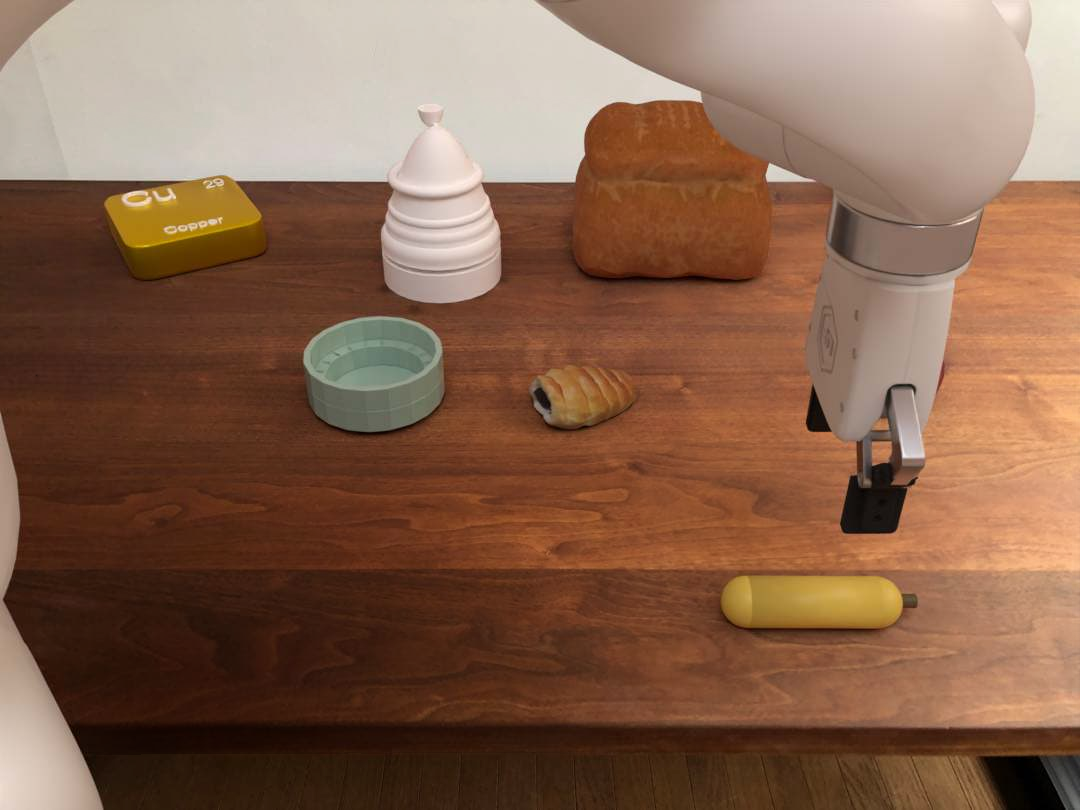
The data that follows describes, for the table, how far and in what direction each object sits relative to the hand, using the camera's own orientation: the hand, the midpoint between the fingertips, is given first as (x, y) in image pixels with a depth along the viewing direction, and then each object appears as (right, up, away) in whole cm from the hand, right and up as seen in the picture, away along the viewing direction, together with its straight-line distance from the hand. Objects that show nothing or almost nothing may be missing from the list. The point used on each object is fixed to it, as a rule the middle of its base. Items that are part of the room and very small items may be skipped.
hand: (847, 476), depth 66 cm
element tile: (-60, +23, +57) cm, 85 cm away
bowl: (-34, +5, +31) cm, 46 cm away
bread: (-5, +22, +55) cm, 59 cm away
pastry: (-16, +4, +30) cm, 34 cm away
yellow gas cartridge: (0, -11, +8) cm, 14 cm away
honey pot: (-30, +19, +51) cm, 62 cm away
